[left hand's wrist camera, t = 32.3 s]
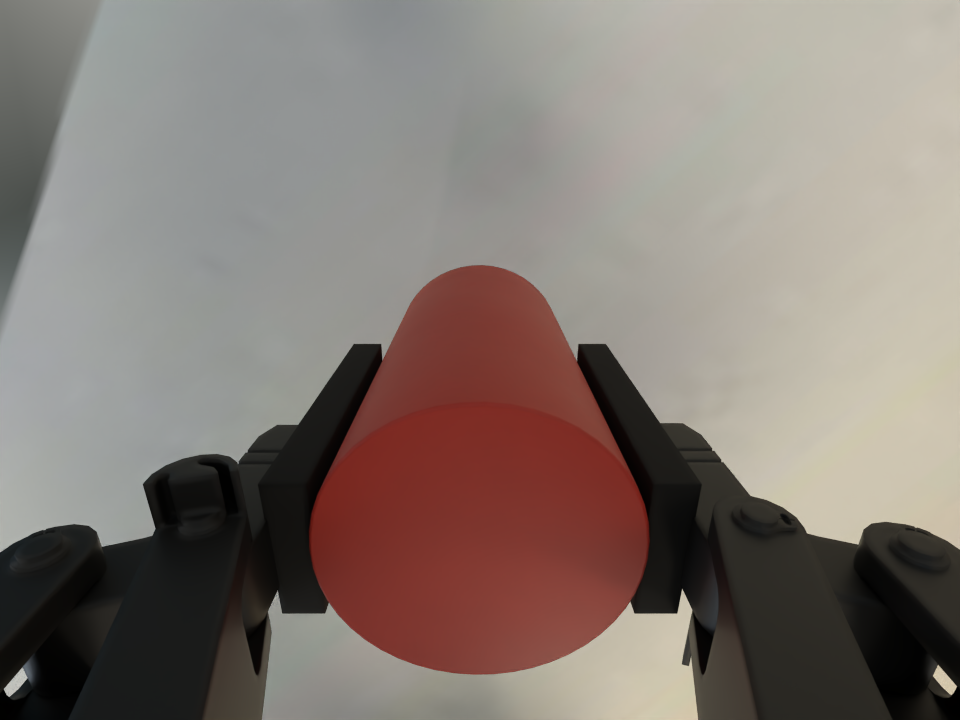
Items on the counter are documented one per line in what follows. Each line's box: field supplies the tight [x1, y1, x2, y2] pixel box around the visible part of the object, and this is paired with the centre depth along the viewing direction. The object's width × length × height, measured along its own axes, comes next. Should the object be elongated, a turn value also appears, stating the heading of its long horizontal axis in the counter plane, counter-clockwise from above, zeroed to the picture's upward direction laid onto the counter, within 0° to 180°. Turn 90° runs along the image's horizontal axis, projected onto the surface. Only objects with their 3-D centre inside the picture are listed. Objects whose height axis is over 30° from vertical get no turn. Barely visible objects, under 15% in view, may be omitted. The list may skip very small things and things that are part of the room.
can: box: [309, 265, 650, 674], centre depth 13 cm, size 6×6×10 cm
